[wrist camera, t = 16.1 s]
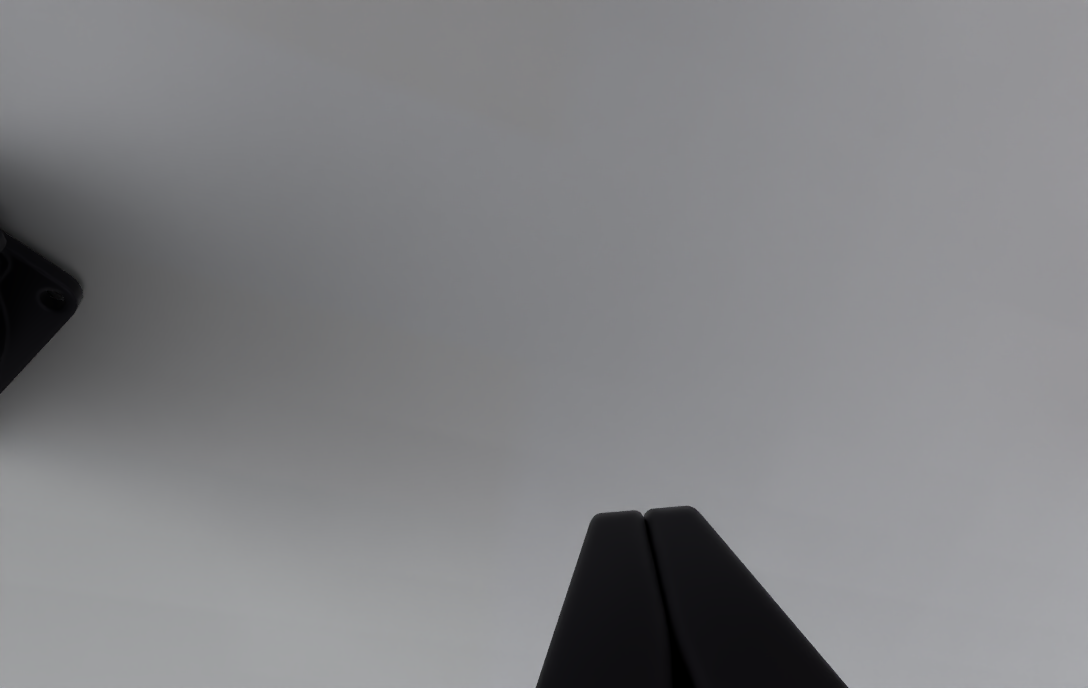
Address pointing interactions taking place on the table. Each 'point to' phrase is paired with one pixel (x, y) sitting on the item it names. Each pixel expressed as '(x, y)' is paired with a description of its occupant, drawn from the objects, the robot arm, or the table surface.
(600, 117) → the table surface
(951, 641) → the table surface
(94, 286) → the table surface
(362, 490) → the table surface
